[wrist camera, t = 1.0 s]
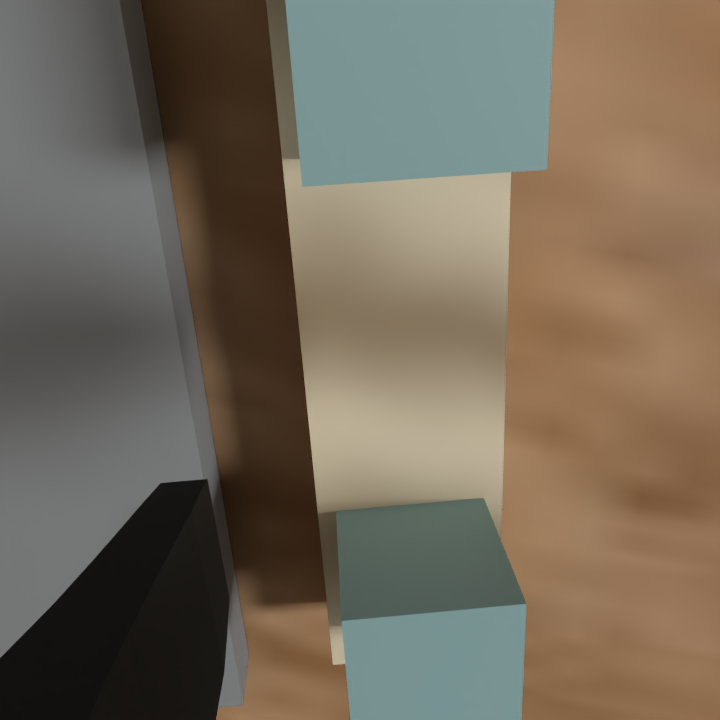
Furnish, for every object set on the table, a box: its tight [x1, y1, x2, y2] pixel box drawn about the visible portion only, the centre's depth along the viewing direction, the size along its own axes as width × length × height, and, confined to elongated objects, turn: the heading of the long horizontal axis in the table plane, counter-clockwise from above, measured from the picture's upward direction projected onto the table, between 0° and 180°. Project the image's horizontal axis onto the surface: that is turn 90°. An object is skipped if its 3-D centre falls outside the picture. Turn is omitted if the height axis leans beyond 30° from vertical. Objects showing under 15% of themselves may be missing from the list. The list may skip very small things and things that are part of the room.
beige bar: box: [266, 0, 511, 665], centre depth 18 cm, size 20×5×3 cm, turn 3°
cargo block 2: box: [336, 498, 526, 720], centre depth 17 cm, size 4×4×4 cm
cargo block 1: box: [285, 0, 555, 187], centre depth 12 cm, size 4×4×4 cm
